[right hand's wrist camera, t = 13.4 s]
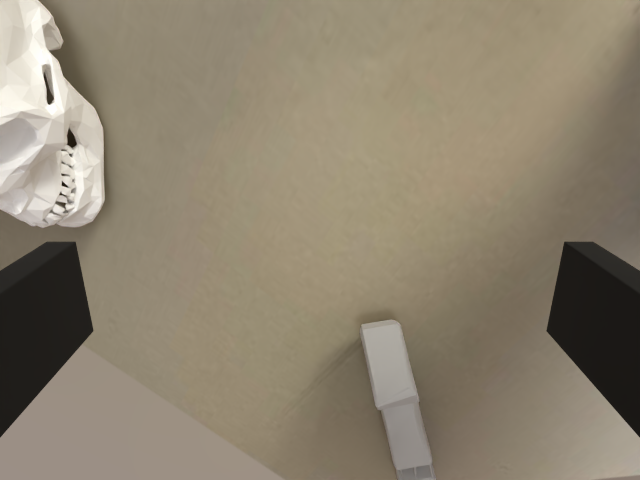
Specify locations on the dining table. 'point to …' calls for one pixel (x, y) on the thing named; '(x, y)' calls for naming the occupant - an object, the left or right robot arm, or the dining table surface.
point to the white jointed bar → (397, 399)
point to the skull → (44, 126)
